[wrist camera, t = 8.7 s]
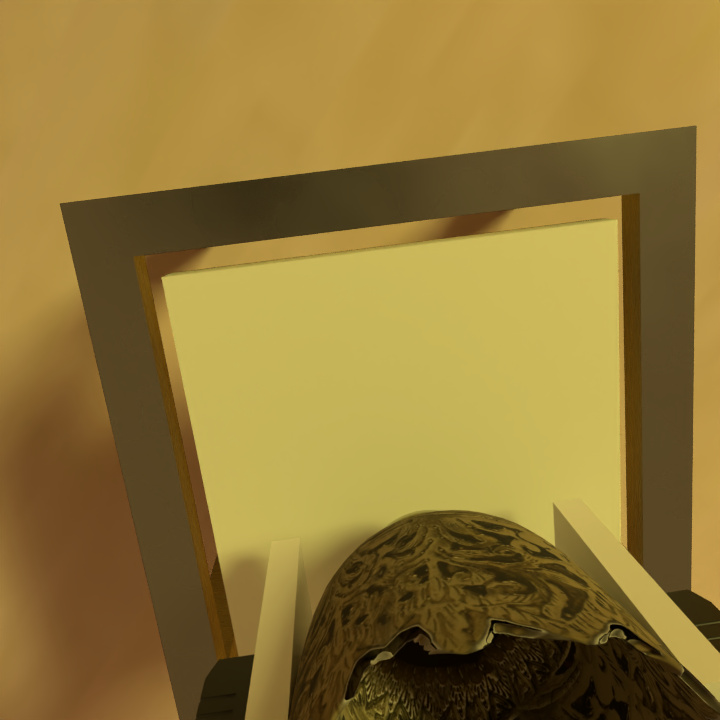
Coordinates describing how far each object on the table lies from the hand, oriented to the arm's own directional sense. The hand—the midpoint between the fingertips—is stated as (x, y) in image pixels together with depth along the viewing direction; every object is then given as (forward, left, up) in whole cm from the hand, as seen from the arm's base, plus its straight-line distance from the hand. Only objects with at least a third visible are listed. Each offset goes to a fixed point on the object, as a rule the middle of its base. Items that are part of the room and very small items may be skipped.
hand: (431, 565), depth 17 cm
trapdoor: (-2, 0, -3) cm, 3 cm away
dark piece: (0, 0, 0) cm, 0 cm away
